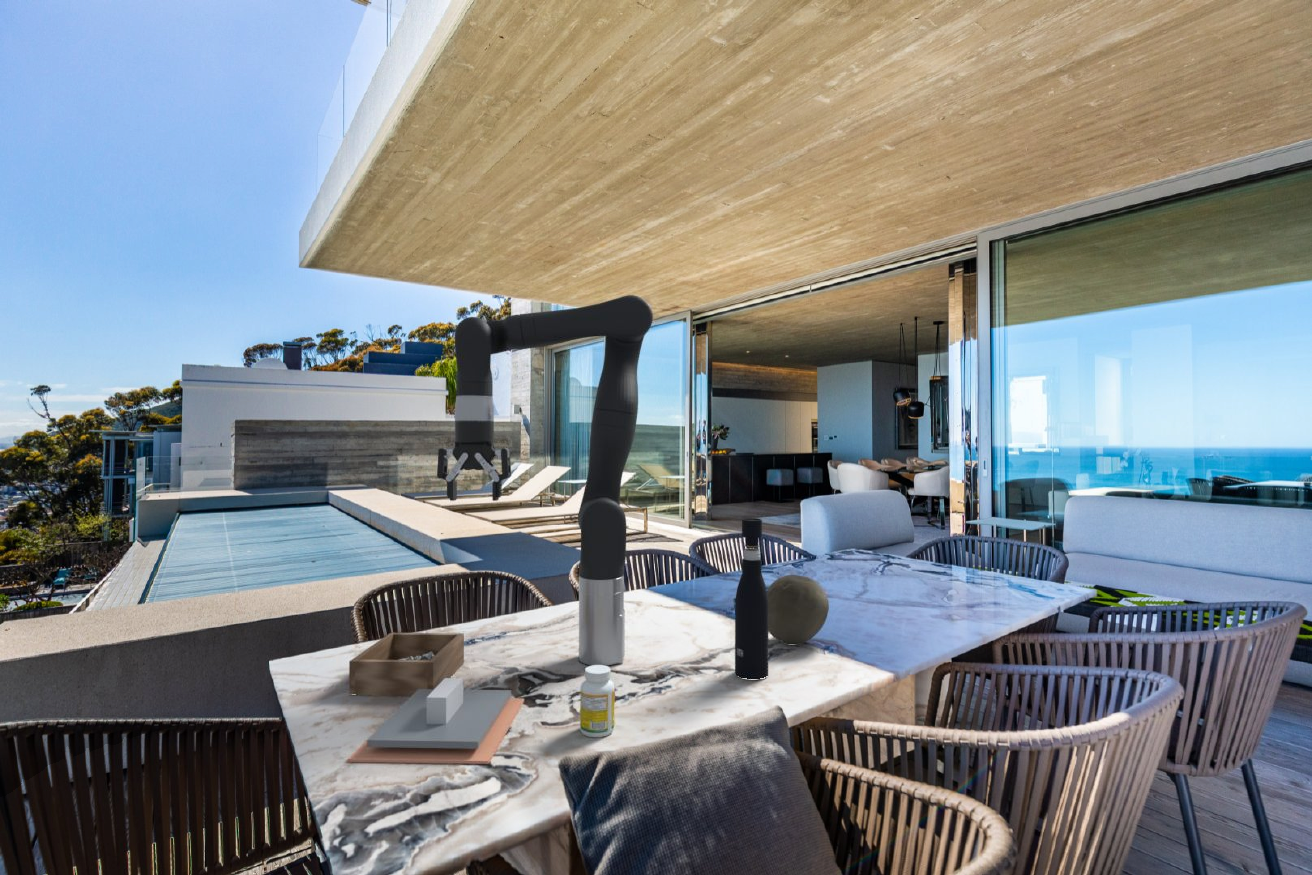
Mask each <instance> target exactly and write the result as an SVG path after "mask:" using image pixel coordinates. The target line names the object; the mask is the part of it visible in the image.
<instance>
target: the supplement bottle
mask: <svg viewBox="0 0 1312 875" xmlns="http://www.w3.org/2000/svg"><path fill="white" fill-rule="evenodd" d="M611 672H612V671H611V667H610V666H609V665H589V666H587V667H585V669H584V679H585V680H584V681H583V682H582V683H581V685H580V692H579V694H580V696H579V697H580V701H579V702H580V706H579V707H580V710H579V711H580V714H579V716H580V717H579V720H580V722H579V724H580V727H579V728H580V732H581V734H582V735H584V736H586V737H589V738H604V737H607V736H609V735H611V734H612V733H613V732H614V730H615V701H616V700H615V695H616V694H615V692H616V690H615V687H616V686H615V683H614V682H613V680H611V677H612V675H611V674H612V673H611ZM610 733H611V734H610ZM603 736H604V737H603Z"/></svg>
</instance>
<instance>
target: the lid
mask: <svg viewBox="0 0 1312 875" xmlns="http://www.w3.org/2000/svg"><path fill="white" fill-rule="evenodd" d="M511 697H512V690H509V689H507V690H506V689H505V690H504V689H503V690H502V689H464V678H463V677H462V678H461V677H459V678H458V677H451V678H445V679H444V680H443V681H442V682H441V683H440V684H439V685H438V686H437V687H436V688H435V689H418V690H417V691H416V692H415V693H414V694H413V695H412V696H409V698H407V699H406V700H405V701H404V703H402V704H401V706H400V707H399V708H398V709H396V711H395V712H393V714H392V715H391V716H389V717H388V718H387V720H385V721H384V722H383V723H382V724H381V725H380V726H381V727H380V726H379V727H380V728H379V727H378V728H379V729H378V728H377V729H378V730H377V729H376V730H377V731H376V730H375V731H376V732H375V733H374V732H373V733H374V734H373V733H372V734H373V735H372V734H371V735H372V736H371V735H370V736H371V737H370V736H369V737H370V738H369V737H368V738H369V739H368V738H367V739H368V740H367V739H366V740H367V747H397V748H462V749H478V748H479V746H480V745H481V743H482V742H483V740H484V738H485V737H486V735H487V734H488V732H489V731H490V729H491V727H492V726H493V724H494V723H495V721H496V719H497V718H498V716H499V715H500V713H501V711H502V710H503V708H504V707H505V705H506V703H507V702H508V700H509V699H510V698H511Z"/></svg>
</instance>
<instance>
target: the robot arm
mask: <svg viewBox="0 0 1312 875" xmlns="http://www.w3.org/2000/svg"><path fill="white" fill-rule="evenodd" d="M653 319H654V313H653V309H652V307H651V305H650V304H649V302H648V301H646V299H644V298H642V297H641V296H638V295H634V294H627V295H622V296H621V297H617V298H613V299H611V300H607V301H604V302H600V303H594V304H592V305H591V304H590V305H586V306H581V307H575V308H567V309H559V310H558V309H557V310H548V311H547V310H546V311H537V312H529V313H528V312H527V313H518V314H513V315H512V314H511V315H508V316H507V317H505V318H503V319H497V320H489V321H485V320H483V319H481V318H480V317H476V316H469V317H465V318H463V319H461V321H460V322H458V324H457V325H456V328H455V330H454V331H455V332H454V351H455V363H456V380H455V382H456V384H455V385H456V396H455V405H454V417H453V418H454V447H453V449H452V448H451V449H450V448H447V447H443V448H439V449H438V452H437V453H438V454H437V465H436V466H437V469H436V470H437V471H436V477H437V478H438V479H440V480H444V481H446V496H447V498H449V501H451V502H452V501H453V502H455V501H456V500H457V498H458V496H457V494H458V486H457V485H458V482H457V481H456V479H457V478H458V477H459V475H460V474H462V472H463V471H472V470H474V471H482V470H484V471H485V472H486V473H487V474H488V475H489V476H490V478H491V479H492V480H493V482H492V484H491V486H492V487H491V488H492V496H491V497H492V500H491V501H493V502H497V501H499V499H500V498H502V495H503V494H502V493H503V488H502V486H503V481H504V480H507V479H510V478H511V477H512V465H511V451H510V448H507V447H506V448H502V449H496V448H495V445H494V444H495V441H494V440H495V435H494V434H495V431H494V430H495V429H494V428H495V422H494V421H495V413H494V412H495V408H494V400H493V399H494V398H493V396H494V395H493V391H494V390H493V386H494V385H493V384H494V383H493V374H492V369H491V358H492V357H491V356H492V355H496V354H500V353H505V352H509V351H515V350H517V351H518V350H527V349H537V348H544V347H549V346H554V345H558V344H563V343H567V342H572V341H574V340H575V341H576V340H579V339H585V338H596V337H605V339H604V358H603V363H602V364H603V366H602V370H601V374H600V377H599V381H598V386H597V390H596V394H595V400H594V406H593V410H592V411H593V412H592V418H591V428H590V436H589V449H588V450H589V451H588V471H587V476H586V477H587V478H586V481H585V486H584V492H583V494H582V499H581V502H580V507H579V509H578V514H577V524H578V527H579V529H580V557H579V558H580V560H579V564H578V661H580V662H581V663H582V664H583V665H584V664H586V665H589V666H592V665H604V666H610V665H611V666H612V665H616V664H623V662H624V658H625V652H626V650H625V646H626V645H625V644H626V642H625V637H626V636H625V632H626V630H625V626H626V625H625V622H626V621H625V620H626V619H625V617H626V613H625V612H626V611H625V607H624V606H625V604H624V602H625V600H624V599H625V596H624V590H625V587H624V586H625V582H624V581H625V576H624V575H625V564H626V559H627V558H626V556H627V518H626V513H625V511H624V509H623V508H622V506H621V504H620V502H621V499H620V498H621V489H622V488H621V486H622V478H623V473H624V470H625V467H626V464H627V461H628V459H629V455H630V452H631V449H632V446H633V442H634V438H635V435H636V434H635V433H636V427H637V420H638V413H639V412H638V411H639V390H638V389H639V386H638V366H639V360H640V354H641V350H642V345H643V341H644V338H645V335H646V334H647V333H648V332H649V330H650V329H651V328H652V324H653V321H654V320H653ZM452 455H453V457H454V458H455V460H456V462H455V464H454V465H453V466H452V468H451V470H450V471H449V473H448V469H449V468H448V464H449V460H450V459H451V458H452ZM496 456H497V457H498V460H499V461H500V460H501V473H500V472H499V471H498V468H497V467H496V466H495V464H494V463H493V462H492V461H493V459H494V458H495V457H496Z"/></svg>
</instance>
